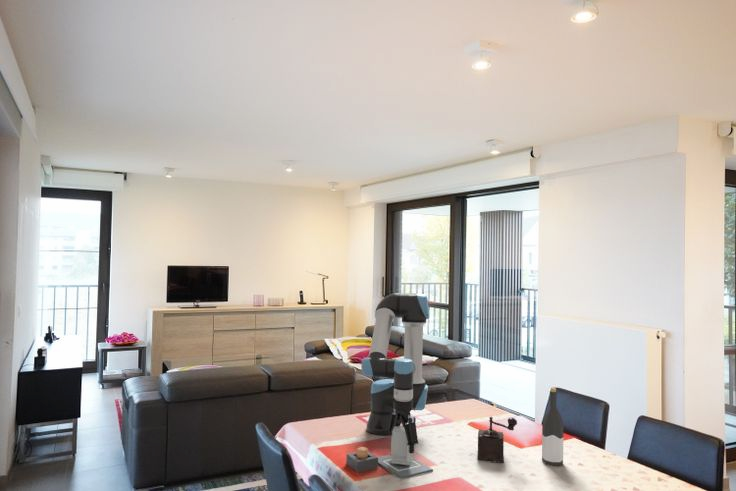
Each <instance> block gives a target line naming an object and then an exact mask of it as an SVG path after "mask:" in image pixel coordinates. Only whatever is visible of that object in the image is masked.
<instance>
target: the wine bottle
mask: <svg viewBox="0 0 736 491" xmlns="http://www.w3.org/2000/svg"><path fill="white" fill-rule="evenodd" d="M557 394H558V392H557V388H556V387H554V386H553V387H550V391H549V406H548V409H547V410H546V412H545V414H544V416H543V420H542V424H541V427H542V429H541V431H542V432H541V433H542V434H541V462H542V463H544V464H545V465H547V466H551V467H560V466H562V465H563V464H564V422H563V418H562V415H561V413H560V411H559V410H558V408H557Z"/></svg>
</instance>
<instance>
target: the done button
mask: <svg viewBox="0 0 736 491" xmlns="http://www.w3.org/2000/svg"><path fill="white" fill-rule="evenodd" d="M368 451H369V449H368V447H365V446H361V447H357V448H356V452H357V458H358V459H364V458H368Z"/></svg>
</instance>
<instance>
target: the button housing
mask: <svg viewBox="0 0 736 491" xmlns="http://www.w3.org/2000/svg"><path fill="white" fill-rule="evenodd" d="M378 457H379V456H377V455H375V454H373V453H372V452H370V451H369V450H368V458H364V459H358V458H357V451H355V452H350V453H346V457H345V458H346V462H345V465H347V466H348V467H349V468H351V469H352V470H353V471H355V472H356V473H360V472H361V473H362V472H367V471H371V470H376V469H378V468H379V465H378Z"/></svg>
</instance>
